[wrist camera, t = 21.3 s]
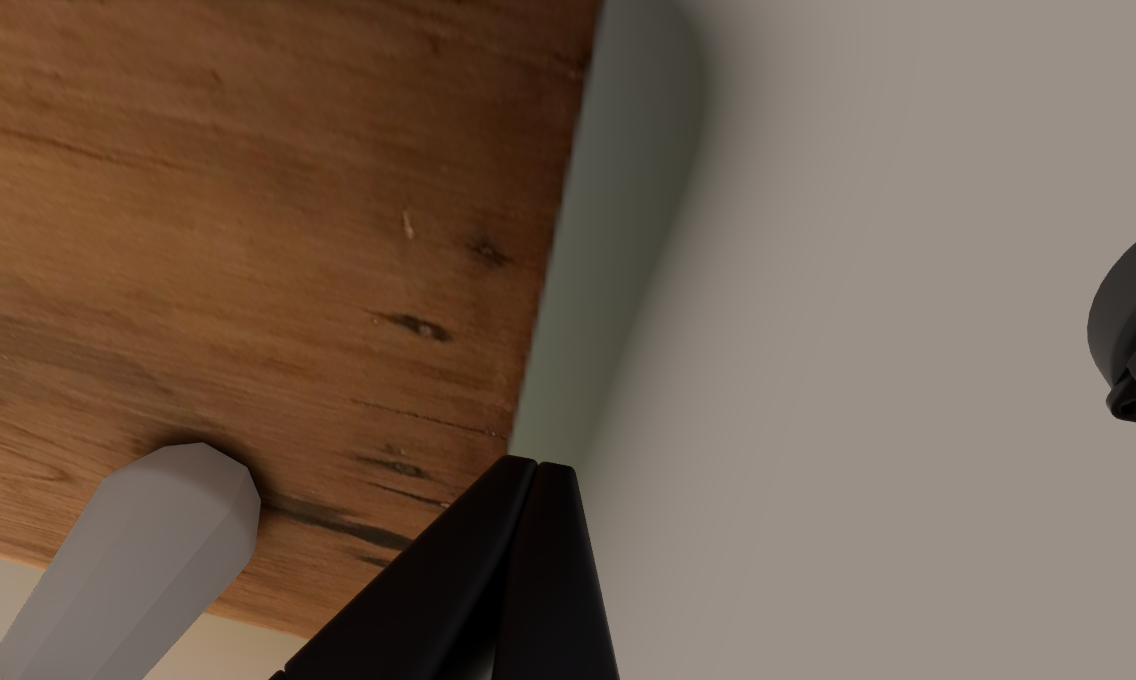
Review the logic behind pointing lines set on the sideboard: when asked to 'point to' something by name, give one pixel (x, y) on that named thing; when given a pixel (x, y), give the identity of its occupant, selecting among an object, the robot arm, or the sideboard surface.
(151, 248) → the sideboard surface
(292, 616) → the sideboard surface
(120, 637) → the salt shaker
